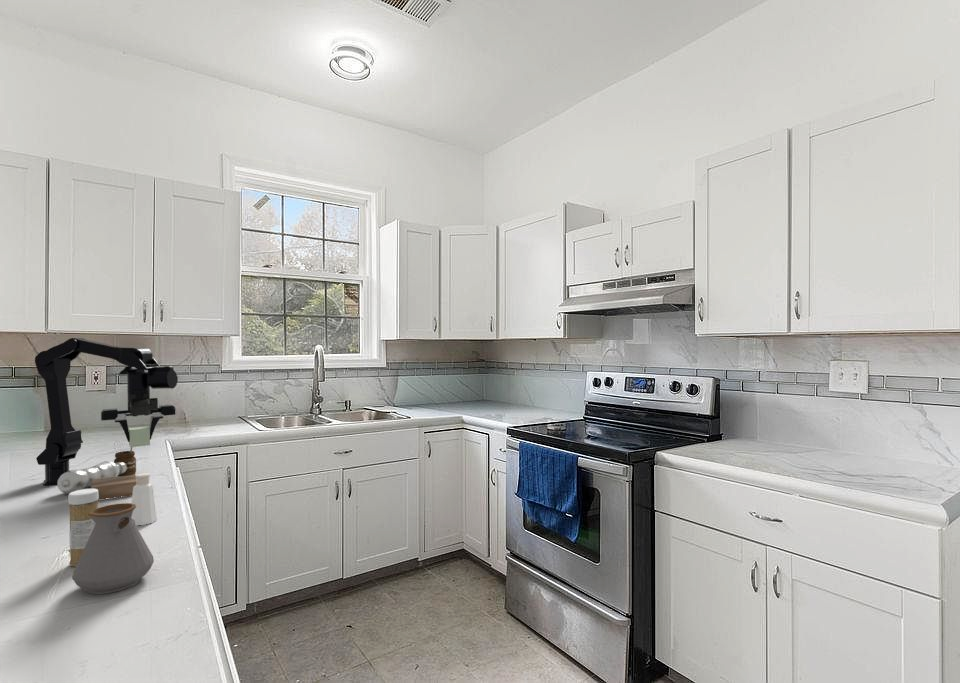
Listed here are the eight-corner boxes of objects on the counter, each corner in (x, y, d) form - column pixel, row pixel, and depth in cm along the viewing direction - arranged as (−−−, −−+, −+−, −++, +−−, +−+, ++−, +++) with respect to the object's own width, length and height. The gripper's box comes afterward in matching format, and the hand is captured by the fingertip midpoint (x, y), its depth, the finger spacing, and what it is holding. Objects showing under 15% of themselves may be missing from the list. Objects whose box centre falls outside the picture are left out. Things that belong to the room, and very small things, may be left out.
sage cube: (129, 444, 162) (128, 428, 162) (148, 442, 165) (148, 426, 165) (130, 447, 158) (129, 430, 158) (149, 445, 160) (149, 428, 160)
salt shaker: (162, 519, 124) (162, 472, 124) (141, 527, 119) (140, 478, 119) (145, 517, 126) (144, 470, 126) (123, 524, 121) (122, 476, 121)
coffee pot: (70, 582, 92) (68, 495, 92) (147, 563, 99) (146, 483, 99) (79, 633, 75) (78, 527, 75) (171, 606, 83) (170, 509, 83)
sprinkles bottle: (79, 558, 102) (78, 488, 102) (104, 557, 103) (103, 487, 103) (63, 568, 98) (62, 495, 98) (89, 567, 98) (88, 494, 98)
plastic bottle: (74, 471, 145) (130, 456, 165) (52, 473, 145) (110, 457, 165) (76, 495, 145) (132, 477, 164) (53, 496, 145) (111, 478, 165)
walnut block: (92, 494, 148) (92, 479, 148) (135, 488, 154) (135, 474, 154) (91, 503, 140) (91, 487, 140) (136, 496, 145) (136, 481, 145)
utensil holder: (109, 475, 167) (108, 437, 167) (129, 471, 173) (128, 434, 173) (121, 477, 165) (121, 438, 165) (141, 472, 171) (141, 435, 171)
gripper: (101, 393, 149) (102, 448, 149) (177, 388, 160) (178, 440, 160) (100, 390, 158) (101, 443, 158) (172, 386, 169) (173, 435, 169)
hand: (139, 440), depth 161 cm, fingers closed on sage cube, 5 cm apart
